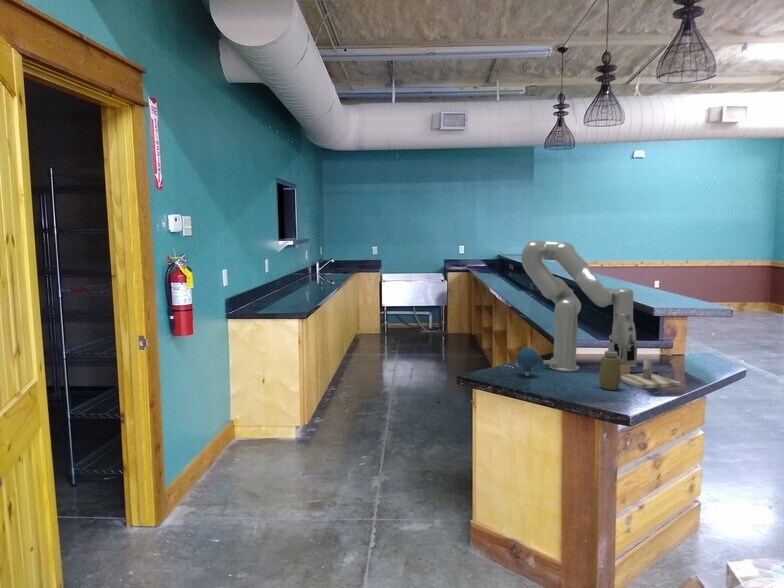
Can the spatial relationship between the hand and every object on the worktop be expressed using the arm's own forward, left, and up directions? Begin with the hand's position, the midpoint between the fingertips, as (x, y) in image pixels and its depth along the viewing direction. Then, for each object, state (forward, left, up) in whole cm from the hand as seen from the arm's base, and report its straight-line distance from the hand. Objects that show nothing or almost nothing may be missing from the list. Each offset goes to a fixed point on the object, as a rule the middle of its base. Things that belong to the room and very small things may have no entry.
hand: (622, 358), depth 231 cm
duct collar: (-1, +1, -7) cm, 7 cm away
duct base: (+2, -12, -7) cm, 14 cm away
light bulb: (-41, +7, -8) cm, 42 cm away
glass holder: (+12, +14, -8) cm, 20 cm away
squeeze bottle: (-19, -17, -8) cm, 27 cm away
